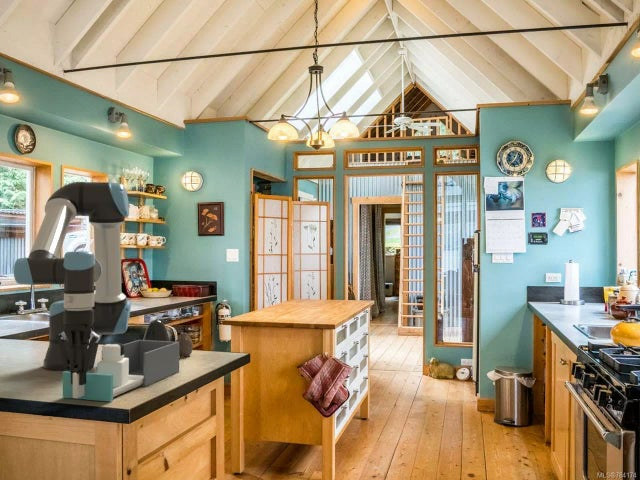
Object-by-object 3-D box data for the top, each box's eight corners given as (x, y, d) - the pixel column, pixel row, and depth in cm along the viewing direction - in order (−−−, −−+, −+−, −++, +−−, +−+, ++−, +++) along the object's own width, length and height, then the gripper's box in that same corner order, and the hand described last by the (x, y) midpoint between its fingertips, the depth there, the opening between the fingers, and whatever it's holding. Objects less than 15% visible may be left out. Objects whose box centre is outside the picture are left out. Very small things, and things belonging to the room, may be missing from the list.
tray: (62, 397, 151) (62, 372, 151) (107, 380, 170) (107, 357, 170) (110, 401, 147) (110, 375, 147) (151, 383, 166) (151, 360, 166)
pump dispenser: (176, 359, 202) (177, 318, 202) (157, 365, 193) (157, 322, 193) (155, 357, 206) (155, 317, 207) (135, 362, 197) (135, 320, 197)
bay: (101, 383, 167) (101, 350, 167) (138, 369, 186) (138, 339, 187) (145, 386, 163) (146, 353, 163) (179, 371, 182) (179, 342, 183)
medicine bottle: (104, 381, 164) (105, 341, 164) (128, 381, 164) (129, 341, 164) (96, 387, 157) (96, 346, 157) (121, 387, 157) (121, 345, 157)
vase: (186, 358, 204) (186, 335, 205) (170, 357, 207) (170, 333, 207) (196, 354, 211) (196, 332, 211) (181, 353, 213) (181, 331, 213)
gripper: (48, 309, 144) (47, 398, 144) (90, 311, 141) (89, 402, 141) (68, 306, 152) (67, 391, 152) (108, 308, 148) (108, 394, 148)
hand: (78, 396), depth 146 cm, fingers closed
